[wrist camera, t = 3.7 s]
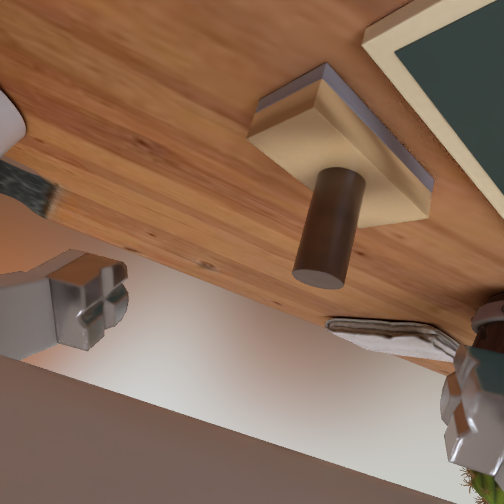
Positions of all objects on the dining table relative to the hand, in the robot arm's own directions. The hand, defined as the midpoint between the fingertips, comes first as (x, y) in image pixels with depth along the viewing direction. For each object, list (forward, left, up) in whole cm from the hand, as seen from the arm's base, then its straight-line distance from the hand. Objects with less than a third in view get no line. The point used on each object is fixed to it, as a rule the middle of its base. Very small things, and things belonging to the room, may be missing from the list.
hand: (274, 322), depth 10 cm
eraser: (+9, -7, -14) cm, 18 cm away
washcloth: (+50, -28, -14) cm, 59 cm away
